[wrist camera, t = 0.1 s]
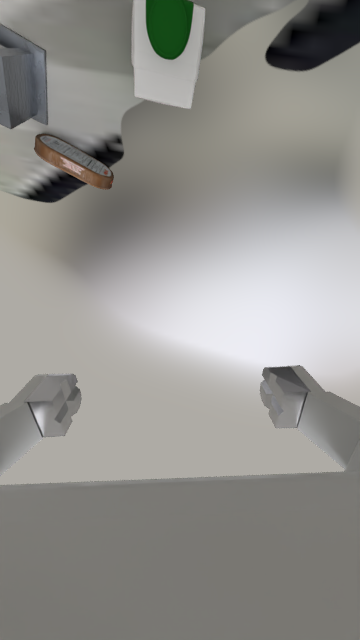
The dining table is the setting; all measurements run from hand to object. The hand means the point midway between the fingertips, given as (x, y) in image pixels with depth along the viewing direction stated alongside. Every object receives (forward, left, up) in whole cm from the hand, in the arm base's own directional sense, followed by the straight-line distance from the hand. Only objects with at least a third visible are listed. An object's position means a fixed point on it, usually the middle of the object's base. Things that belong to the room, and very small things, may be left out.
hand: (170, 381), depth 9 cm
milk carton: (-7, +4, -55) cm, 55 cm away
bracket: (-19, -21, -54) cm, 61 cm away
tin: (-4, -20, -55) cm, 58 cm away
